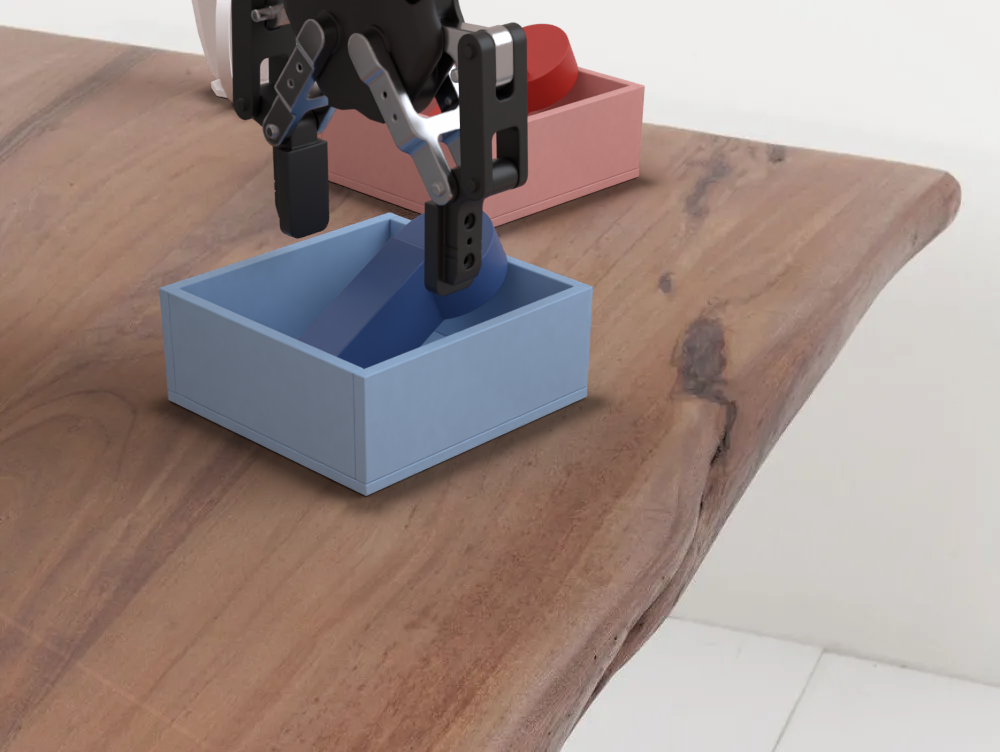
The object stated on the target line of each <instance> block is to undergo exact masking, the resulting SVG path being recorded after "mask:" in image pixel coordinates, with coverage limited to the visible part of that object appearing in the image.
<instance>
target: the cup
mask: <svg viewBox="0 0 1000 752" xmlns="http://www.w3.org/2000/svg"><path fill="white" fill-rule="evenodd" d="M191 4H192V10H193V14H194V21H195V25H196V30H197V34H198V37H199V41H200V44H201V47H202V51H203V54H204V57H205V61H206V64H207V67H208V70H209V71H210V72H211V74H212V76H214V77H215V78H216V79H215V80H212V81H210V85H211V88H210V89H212V91H213V93H214V95H216V97H220V98H221V97H222V98H226V99H228V100H229V101H230V102H231V103H233V83H232V19H231V0H191ZM268 82H269V58H266V59H264V60H263V61H262V63H261V66H260V84H264V83H268Z"/></svg>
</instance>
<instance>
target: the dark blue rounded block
mask: <svg viewBox="0 0 1000 752" xmlns="http://www.w3.org/2000/svg"><path fill="white" fill-rule="evenodd" d="M424 226H425V213H423V214H419V215H417V216H416V217H414V218H413V219H412V221H410V222H409V223H408V224H407V225H405V226H404V227H403V228H402V229H401V230H400V231H399V233H398V234H397V235H396V237H395V238H394V237H392V238H390V240H389V241H388V242H387V243H386V244H385V245H384V246H383V247H382V248H381V249H380V250H379V252H378V253H377V254H376V255H375V256H374V257H373V258H372V259H371V260H370V261H369V262H368V263H367V265H366V266H365V267H364V268H363V269H362V270H361V271H360V272H359V273H358V274H357V275H356V277H355V278H354V279H353V280H352V281H351V282H350V283H349V284H348V285H347V286H346V287H345V289H344V290H343V291H342V292H341V293H340V294H339V295H338V296H337V297H336V298H335V299H334V300H333V302H332V303H331V304H330V305H329V306H328V307H327V308H326V309H325V310H324V311H323V312H322V314H321V315H320V316H319V317H318V318H317V319H316V320H315V321H314V322H313V323H312V324H311V326H310V327H309V328H308V329H307V330H306V331H305V332H304V333H303V334H302V335H301V336H300V337H299V339H298V340H299V341H301V342H303V343H306V344H308V345H310V346H313V347H315V348H317V349H319V350H322V351H324V352H326V353H329V354H331V355H333V356H336V357H338V358H340V359H343V360H345V361H347V362H349V363H352V364H354V365H356V366H359V367H361V368H363V369H366V368H368V367H371V366H373V365H376V364H378V363H381V362H383V361H386V360H388V359H391V358H394V357H396V356H399V355H401V354H404V353H406V352H409V351H411V350H414V349H416V348H419V347H420V346H421V345H422V344H423V343H424V342H425V341H426V340H427V339H428V338H429V336H430V335H431V334H432V333H433V332H434V331H435V330H436V329H437V327H438V326H439V325H440V324H441V323H442V322H443V321H444V320H446V319H452V318H456V317H459V316H462V315H465V314H467V313H470V312H472V311H474V310H475V309H477V308H479V307H480V306H482V305H483V304H485V303H486V302H487V301H488V300H489V299H491V298H492V297H493V296H494V295H495V293H496V292H497V291H498V290H499V288H500V287H501V285H502V284H503V282H504V279H505V277H506V274H507V268H508V260H507V256H506V255H507V253H506V252H505V249H504V246H503V244H502V241H501V240H500V238H499V237H500V236H499V235H498V232H497V230H496V227H494V225H493V223H492V221H491V219H490V217H489V216H488V215H487V214H486V213H485V212H484V211H483V218H482V240H481V242H482V250H481V253H482V262H481V268H480V271H479V274H478V276H477V277H475V278H474V280H473V282H472V284H471V285H470V286H469V287H468V288H466V289H463V290H460V291H458V292H455V293H452V294H450V295H447V296H439V295H437V294H434V293H432V292H429V291H427V290H426V288H425V285H424Z"/></svg>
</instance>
